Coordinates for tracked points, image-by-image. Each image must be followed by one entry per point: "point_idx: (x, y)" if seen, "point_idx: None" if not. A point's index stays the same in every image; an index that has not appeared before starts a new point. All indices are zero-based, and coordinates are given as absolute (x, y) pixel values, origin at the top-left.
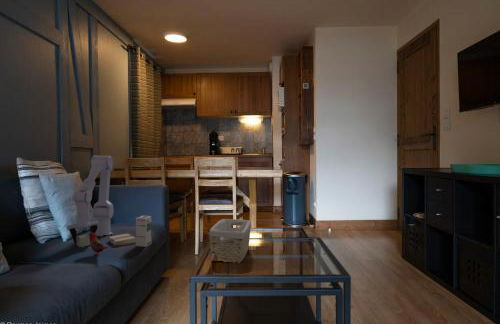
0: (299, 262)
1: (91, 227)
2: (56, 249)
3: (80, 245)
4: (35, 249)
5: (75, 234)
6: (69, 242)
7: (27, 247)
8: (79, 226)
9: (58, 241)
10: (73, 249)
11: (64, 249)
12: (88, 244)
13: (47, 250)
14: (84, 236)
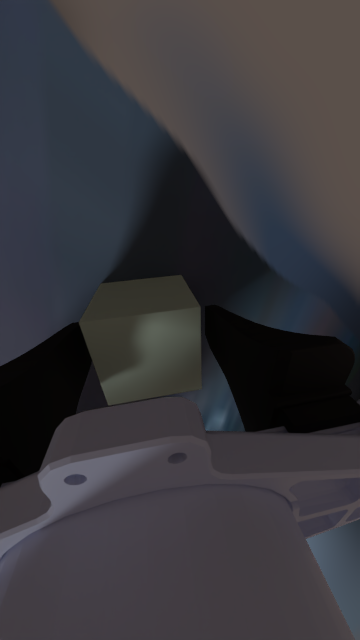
0: None
1: (22, 459)
2: (297, 315)
3: (178, 280)
4: (355, 359)
5: (259, 336)
6: (206, 398)
7: (356, 393)
8: (275, 445)
9: (241, 423)
10: (224, 261)
11: (267, 293)
12: (114, 287)
13: (333, 320)
14: (143, 342)
